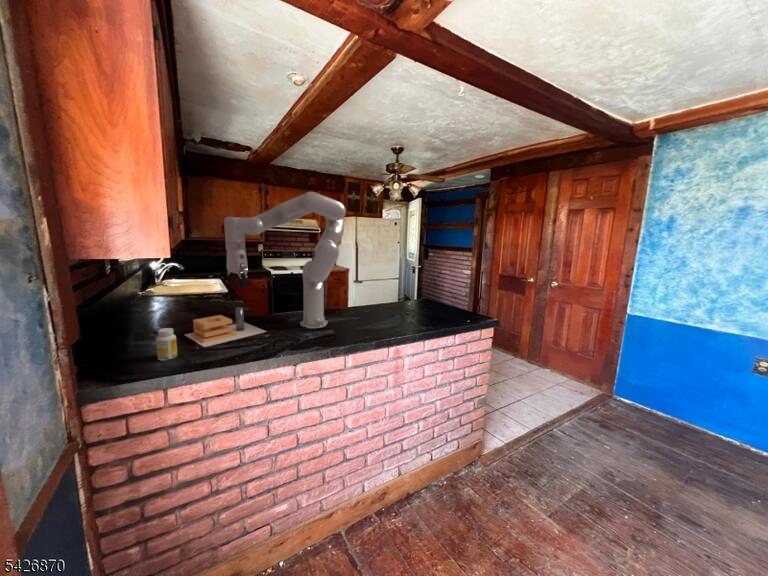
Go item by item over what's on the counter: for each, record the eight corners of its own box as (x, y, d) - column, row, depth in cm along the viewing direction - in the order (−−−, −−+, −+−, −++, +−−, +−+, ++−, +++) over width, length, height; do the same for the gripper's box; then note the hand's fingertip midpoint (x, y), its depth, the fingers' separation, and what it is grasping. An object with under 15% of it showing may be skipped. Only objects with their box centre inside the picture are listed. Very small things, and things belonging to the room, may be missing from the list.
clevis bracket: (236, 335, 131) (235, 319, 130) (203, 343, 121) (202, 326, 120) (223, 328, 139) (222, 314, 137) (191, 335, 128) (189, 320, 127)
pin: (245, 330, 138) (244, 308, 137) (238, 331, 136) (237, 309, 134) (242, 328, 140) (241, 307, 139) (235, 329, 138) (233, 308, 136)
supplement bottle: (160, 362, 104) (157, 333, 102) (155, 357, 108) (152, 329, 106) (180, 357, 108) (177, 330, 107) (174, 353, 112) (172, 326, 110)
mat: (267, 332, 138) (267, 331, 138) (204, 348, 117) (204, 347, 117) (244, 323, 150) (244, 322, 150) (183, 336, 130) (183, 334, 129)
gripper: (254, 247, 129) (255, 287, 133) (234, 245, 140) (236, 282, 143) (236, 248, 124) (238, 290, 127) (217, 245, 134) (219, 284, 138)
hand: (237, 286), depth 135 cm, fingers open, 9 cm apart
